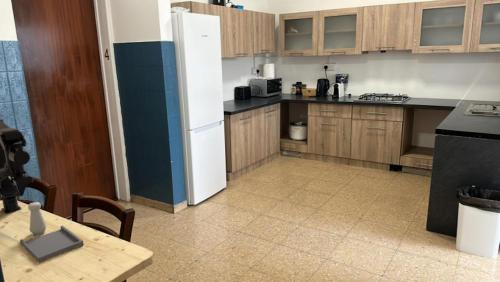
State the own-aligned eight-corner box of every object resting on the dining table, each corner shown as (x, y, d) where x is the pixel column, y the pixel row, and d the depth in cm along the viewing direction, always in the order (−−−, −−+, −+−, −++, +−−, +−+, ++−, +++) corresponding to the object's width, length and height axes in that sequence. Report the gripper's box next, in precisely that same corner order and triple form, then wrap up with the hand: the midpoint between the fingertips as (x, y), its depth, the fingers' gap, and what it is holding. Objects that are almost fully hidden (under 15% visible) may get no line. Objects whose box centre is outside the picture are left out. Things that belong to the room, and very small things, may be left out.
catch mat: (20, 244, 139) (19, 239, 139) (63, 229, 150) (62, 225, 150) (39, 262, 127) (38, 258, 127) (83, 245, 138) (83, 240, 138)
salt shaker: (31, 231, 149) (26, 201, 146) (47, 228, 151) (42, 199, 148) (29, 238, 144) (24, 207, 140) (46, 234, 146) (41, 204, 143)
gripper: (-15, 159, 151) (-9, 195, 155) (-2, 169, 139) (5, 207, 143) (15, 154, 159) (21, 187, 163) (30, 162, 147) (36, 198, 151)
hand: (20, 195), depth 155 cm, fingers closed
